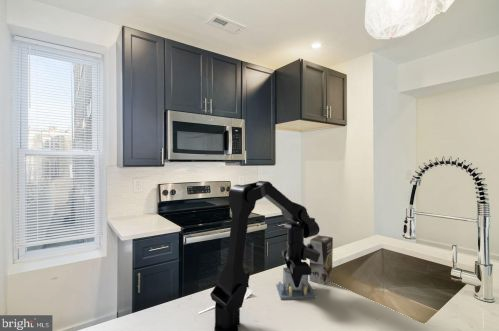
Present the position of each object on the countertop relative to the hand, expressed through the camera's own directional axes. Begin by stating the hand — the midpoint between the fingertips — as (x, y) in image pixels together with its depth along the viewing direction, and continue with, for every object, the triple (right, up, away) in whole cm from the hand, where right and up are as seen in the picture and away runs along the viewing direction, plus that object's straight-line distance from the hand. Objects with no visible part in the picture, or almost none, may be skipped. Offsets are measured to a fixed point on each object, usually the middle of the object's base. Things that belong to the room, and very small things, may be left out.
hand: (295, 284), depth 91 cm
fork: (-24, -4, -7) cm, 25 cm away
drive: (0, -1, 0) cm, 1 cm away
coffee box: (+12, -3, +11) cm, 17 cm away
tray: (0, -3, 0) cm, 3 cm away
